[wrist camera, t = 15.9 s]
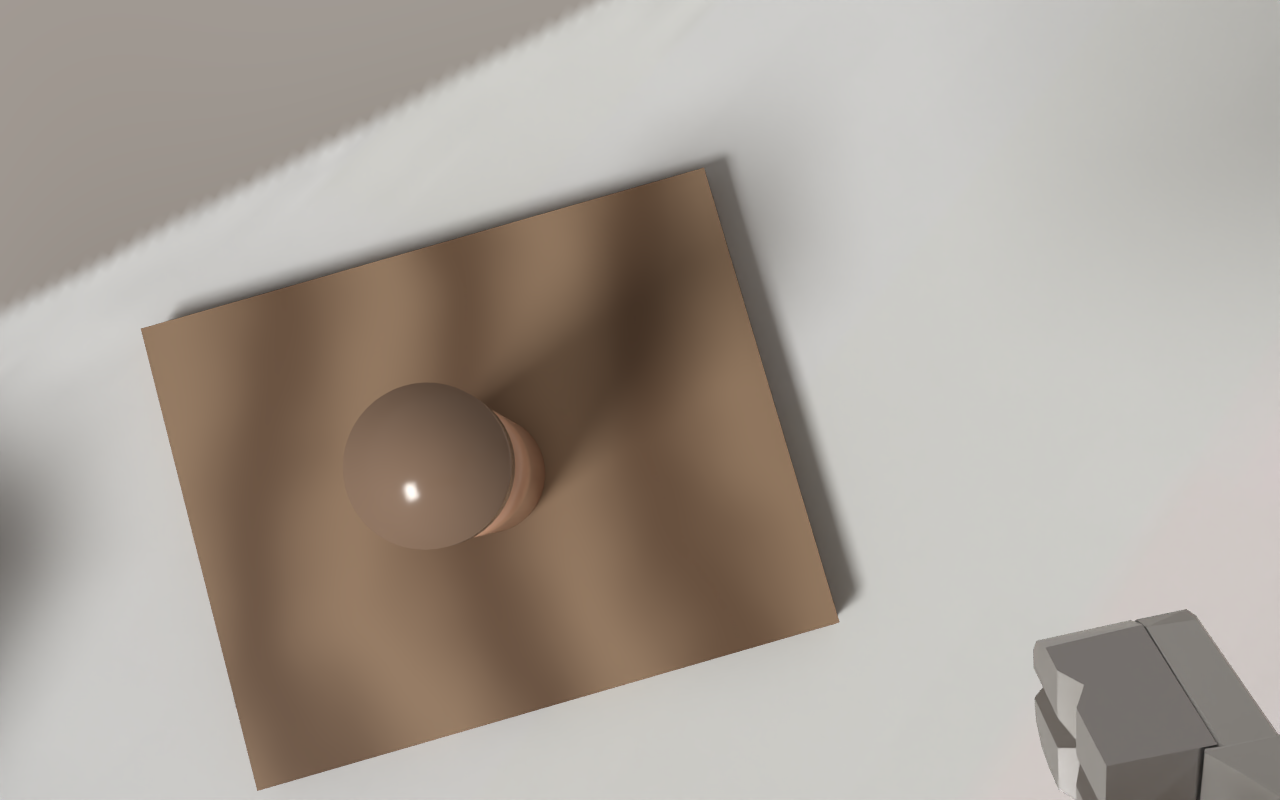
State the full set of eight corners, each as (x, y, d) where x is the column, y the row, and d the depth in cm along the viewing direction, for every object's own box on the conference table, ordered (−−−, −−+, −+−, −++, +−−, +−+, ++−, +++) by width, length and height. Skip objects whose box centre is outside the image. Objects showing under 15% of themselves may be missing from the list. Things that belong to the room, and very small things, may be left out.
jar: (529, 397, 40) (484, 362, 30) (562, 517, 39) (528, 523, 29) (409, 431, 40) (324, 408, 30) (442, 551, 39) (366, 569, 29)
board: (702, 177, 41) (703, 167, 40) (834, 618, 40) (839, 622, 39) (156, 333, 41) (141, 328, 40) (269, 782, 40) (257, 790, 39)
